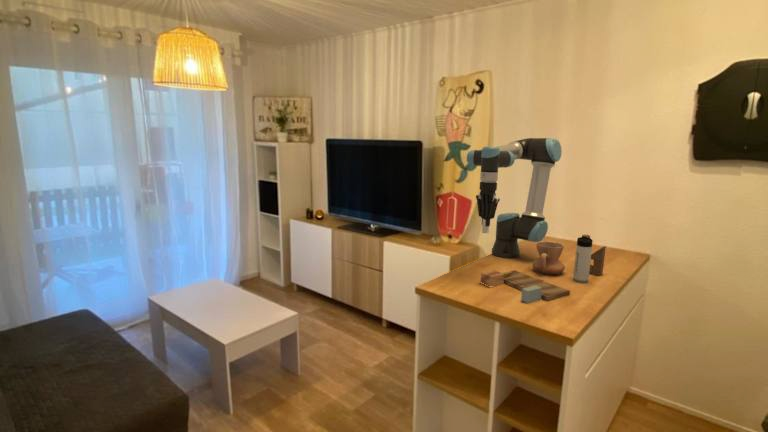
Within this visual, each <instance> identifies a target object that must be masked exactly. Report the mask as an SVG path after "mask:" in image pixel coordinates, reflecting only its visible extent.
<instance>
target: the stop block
mask: <svg viewBox="0 0 768 432" xmlns="http://www.w3.org/2000/svg"><path fill="white" fill-rule="evenodd" d="M541 294H542V288H541V287H539V286H536V285H535V286H531V287H527V288H523V289H522V291H521V299H520V301H521V302H523V301H524V303H526V304H530V303H533V302H537V301H540V300H542V299H541Z"/></svg>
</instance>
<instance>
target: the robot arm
mask: <svg viewBox="0 0 768 432" xmlns="http://www.w3.org/2000/svg"><path fill="white" fill-rule="evenodd" d="M561 157H562V145H561V142H560V141H559V140H558V139H557V138H552V137H545V138H544V137H540V138H539V137H527V138H521V139H519V140H515V141H511V142H509V143H508V144H504V145H499V146H483V147H482V149H478V150H477V149H471V150H469V151H468V152H467V153H466V162H467V164H468V165H469V166H473V167H480V176H479V180H480V182H479V190H480V192H479V194H477V195H475V198H476V203H477V212H478V213H477V214H478V217H480V218H481V226H482V227H481V233H482V234H489V233H490V231H489V230H490V226H491V219H492V220H493V219H495V215H496V213H497V212H496V211H497V208H498V204H499V202H500V199H501V198H499V197H497V194H496V191H497V189H498V188H497V187H498V183H497V181H498V172H499V168H503V169H504V168H505V169H506V168H509V167H511V166H513V165H514V163H515V160H524V161H525V160H526V161H531V162H530V164H531V166H532V173H531V179H530V183H529V190H528V194H527V195H528V196H527V200H526V205H525V211H523V212H522V213H521V216H520V213H516V212H507V213H500V214H498V215H497V218H496V224H495V225H496V228H495V230H496V231H495V240H494V243H493V247H492V248H491V255H493V256H495V257H499V258H503V259H506V258H507V259H515V258H518V257H519V258H520V256H521V250H520V248H519V243H518V239H519V240H522V241H526V242H528V241H529V242H531V243H532V242H533V243H538V242H542V241H544V240H543V239H545V237H546V235H547V233H548V230H549V224H548V222H547V221H546V220H545V219H546V217H545V216H544V208H545V201H546V196H547V191H548V186H549V185H548V184H549V181H550V176H551V175H550V173H551V169H552V168H554V167H555V165H556V162H559V161H560V160H561Z"/></svg>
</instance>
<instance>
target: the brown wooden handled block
mask: <svg viewBox="0 0 768 432" xmlns="http://www.w3.org/2000/svg"><path fill="white" fill-rule="evenodd" d="M511 271H512V270H510V271H509V270H508V271H505V273H504V272H500V271H498V270H495V269H493V270H488V271H483V272H481V273H480V283H481V282H482V283H484V284H486V285H488V286H495V287H497V286H496V285H499V286H502V285H501V284H503V285H505V284H504V277H505V276H509V275H512V274H513V272H511ZM488 286H487V287H488Z"/></svg>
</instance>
